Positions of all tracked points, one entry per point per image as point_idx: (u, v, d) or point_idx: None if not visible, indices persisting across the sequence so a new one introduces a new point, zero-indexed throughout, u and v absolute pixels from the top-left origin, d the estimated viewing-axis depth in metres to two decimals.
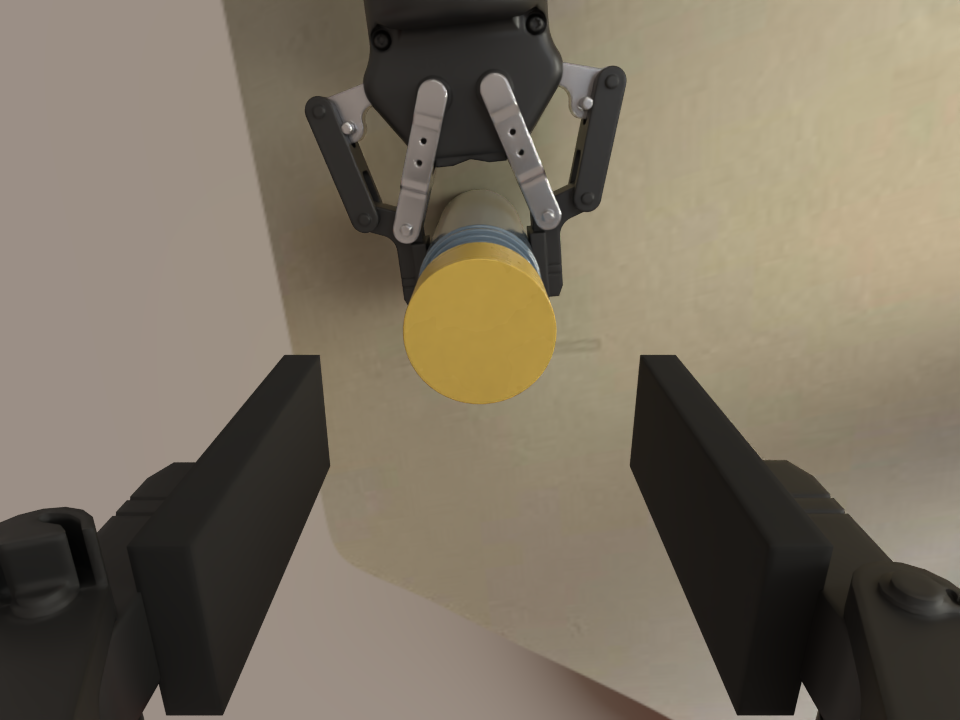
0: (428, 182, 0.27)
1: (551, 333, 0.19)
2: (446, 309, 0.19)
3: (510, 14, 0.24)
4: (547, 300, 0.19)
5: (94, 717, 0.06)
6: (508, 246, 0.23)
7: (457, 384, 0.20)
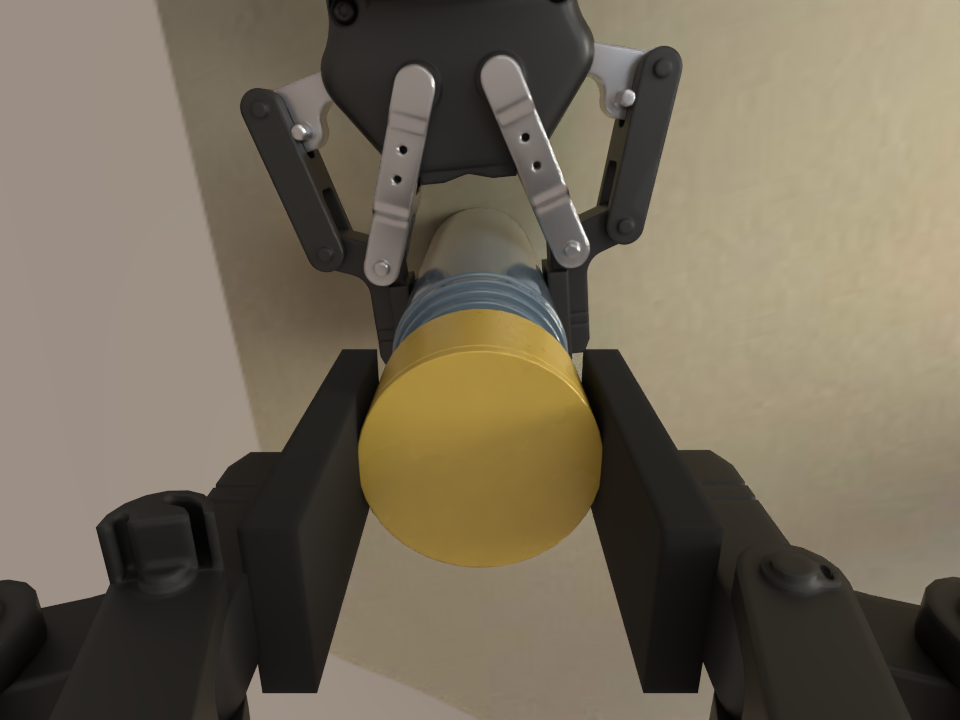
0: (410, 205, 0.20)
1: (595, 465, 0.12)
2: (426, 430, 0.12)
3: None
4: (590, 415, 0.12)
5: (211, 696, 0.06)
6: (522, 306, 0.16)
7: (444, 539, 0.12)
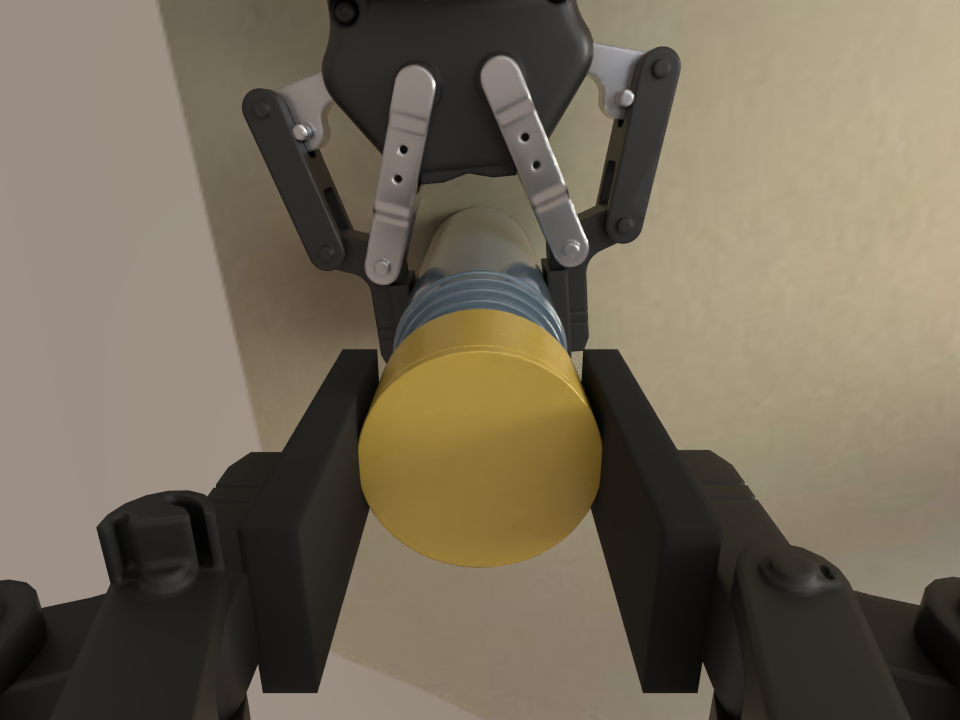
0: (410, 205, 0.20)
1: (389, 398, 0.11)
2: (490, 522, 0.12)
3: None
4: (361, 438, 0.12)
5: (212, 696, 0.06)
6: (521, 304, 0.16)
7: (568, 431, 0.12)
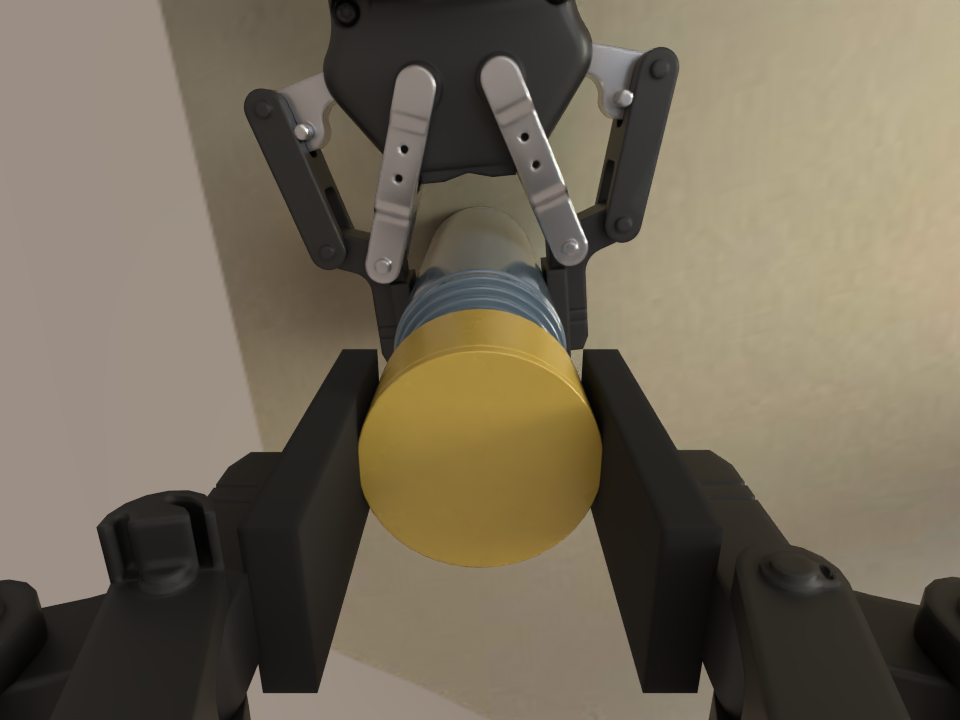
0: (411, 204, 0.20)
1: (491, 562, 0.13)
2: (517, 416, 0.12)
3: None
4: (541, 550, 0.13)
5: (212, 696, 0.06)
6: (521, 302, 0.16)
7: (388, 440, 0.12)
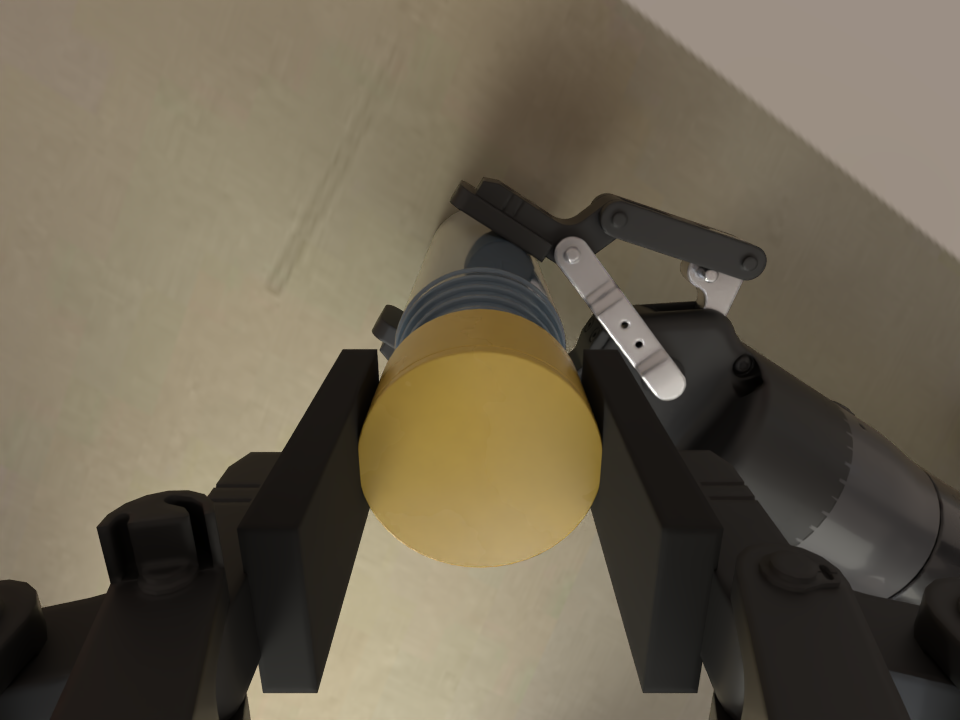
0: (600, 319, 0.22)
1: (491, 562, 0.13)
2: (517, 416, 0.12)
3: None
4: (541, 550, 0.13)
5: (212, 696, 0.06)
6: None
7: (388, 440, 0.12)
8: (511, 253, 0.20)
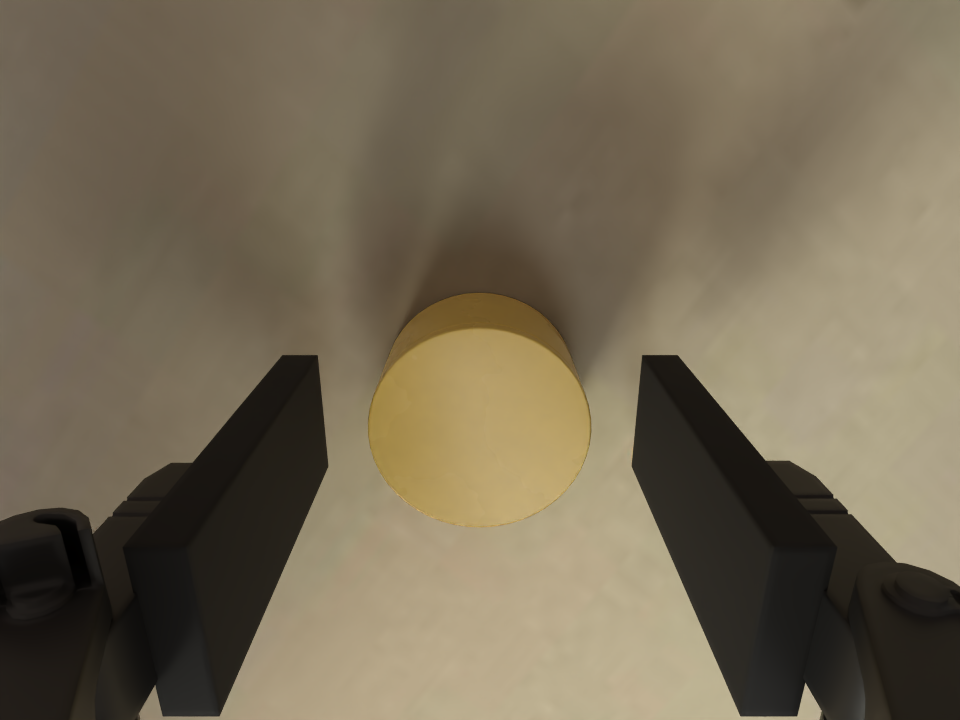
0: None
1: (490, 522, 0.14)
2: (513, 386, 0.13)
3: None
4: (535, 511, 0.14)
5: (90, 718, 0.06)
6: None
7: (396, 409, 0.13)
8: None
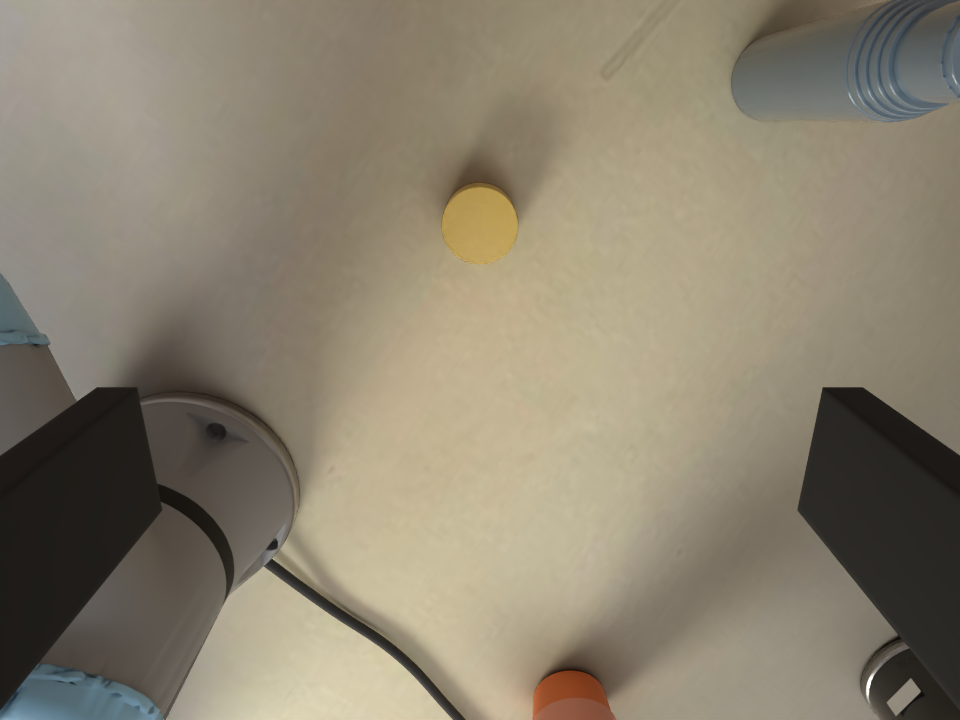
0: None
1: (483, 261, 0.39)
2: (491, 208, 0.38)
3: None
4: (499, 257, 0.39)
5: None
6: (921, 112, 0.26)
7: (451, 217, 0.38)
8: None
